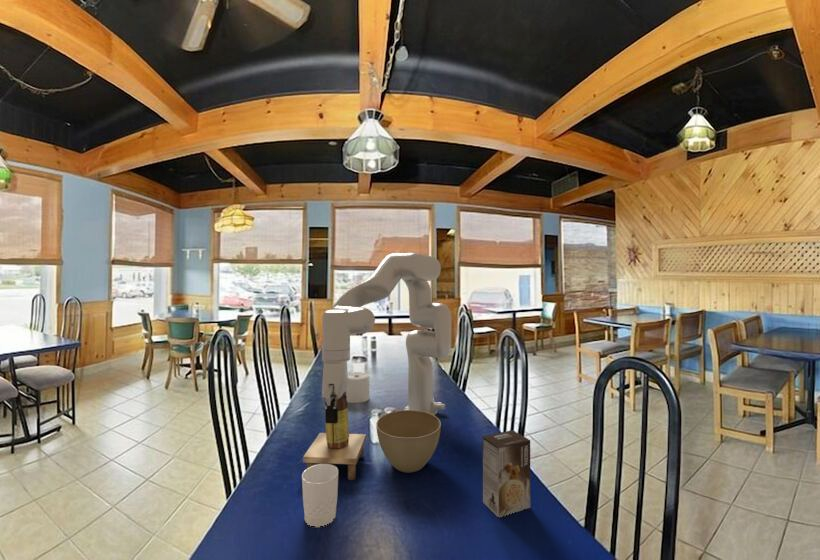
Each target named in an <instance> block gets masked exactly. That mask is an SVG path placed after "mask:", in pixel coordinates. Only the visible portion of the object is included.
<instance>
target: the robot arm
mask: <svg viewBox="0 0 820 560" xmlns="http://www.w3.org/2000/svg"><path fill="white" fill-rule="evenodd" d="M441 269H442V268H441V263H440V261H439V259H437V258H436V257H434V256H431V255H426V254H422V253H417V252H395V253H394V252H393V253H390V254H387V255H386V256H385V257H384V259H383V260H382V261H381V262H380V263H379V264H378V266H377V267H376V269H375V270H373V271H374V272H372V274H371V275H370V276H369V277H368V279H366V280H364V281H362V282H360V283H359V284H357V285H354V287H352V288H350V289H349V290H347V291H346V292H345V293H343V294H342V295H341V296H340V297H339V299H337V301H336V302H335V303H334V304H333V306H332V307H331V309H328V310H325V311H323V312H322V318H321V320H322V322H321V324H322V325H321V329H322V332H321V333H322V334H321V336H322V342H321V343H322V344H321V345H322V346H321V347H322V349H321V350H322V356H321V357H322V362H323V370H322V388H321V391H322V392H321V398H322V399H323V400H326V402H325V401H324V415H325V424H326V423H337V422H338V408H336V407H337V401H338V399H339V398H341V396H342V395H343V393H344V396H345V398H346V400H347V395H346V393H347V391H346V389H347V383H348V372H349V371H348V362H349V361H350V360H351V334H352V335H353V334H355V335H356V334H357V335H359V334H365V333H368V332H370V331H371V330H372V329H373V327H374V325H375V324H376V323H375V321H376V317H375V315H374V312H373V311H372V310H370V309H369V308H366V307H363V306H366V305H368V304H372V303H375V302H379V301H382V300H384V299H386V298H388V297H389V296H390V295H391V293H392V292H393V290H394V289H395V288H396V286H397V285H398V283H399V282H400V281H401V280H402V281H403V282H404V284H405V285H406V286H407V290H408V306H409V308H408V310H409V321H410V323H411V325H412V326H413V327H414V326H415V327H416V328H424V329H425V328H426V329H433V330H434V331H433V330H424V329H414V330H412V331H410V332H409V333H408V334H407V335H406V338H405V347H406V353H407V363H408V364H407V365H408V369H407V370H408V373H407V377H408V378H407V380H408V381H407V382H408V384H407V385H408V389H407V390H408V391H407V393H408V394H407V397H408V400H407V403H408V405H406V406H405V407H404V409H403V410H417V411H423V412H427V413H430V414H432V415H434V416H436V414H437V413H438V410H446V403H442V401H441V402H440V401H438V402H436V401H435V399H434V365H433V362H432V360H431V358H435V359H446V358H448V356H449V355H450V353H451V350H452V314H451V311H450V308H449V306H447V304H444V303H440V302H433V300H432V289H431V285H430V283H429V282H431V281H432V282H433V281H435V280H436V279H438V278H439V277H440V274H441V272H442V270H441ZM332 395H333V396H332ZM331 400H335V401H334V403H333V401H331ZM325 404H326V405H325Z"/></svg>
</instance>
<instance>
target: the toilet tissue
mask: <svg viewBox="0 0 820 560" xmlns="http://www.w3.org/2000/svg"><path fill="white" fill-rule="evenodd" d="M346 391H347V393H346V395H347V404H348V403H349V404H361V403H365V402H368V401H369V400H370V374H369V373H367V372H362V371H360V372H359V371H354V372H350V373H348V383H347V389H346Z"/></svg>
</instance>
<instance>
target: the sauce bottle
mask: <svg viewBox="0 0 820 560" xmlns="http://www.w3.org/2000/svg"><path fill="white" fill-rule="evenodd" d="M332 396H333V395H332ZM324 400H325V399H324ZM331 401H333V403H334V401H335V400H331ZM325 402H326V400H325V401H324V406H325V405H326V404H325ZM348 405H349V404H348V402H347V400H346V398H345V396H344V393H343V395H342V396H341V398H339V399H338V401H337V407H336V408H338V422H337V423H326V422H325V433H326V441H327V445H328V447H330V448H333V449H339V448H343V447H345V446H346V445H347V444H348V443H349V434H350V431H349V430H350V429H349V428H350V427H349V409H348Z"/></svg>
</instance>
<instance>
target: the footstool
mask: <svg viewBox="0 0 820 560" xmlns="http://www.w3.org/2000/svg"><path fill="white" fill-rule="evenodd" d="M366 440H367V434H365V433H364V434H363V433H349V443H348V444H347V445H346V446H345V447H343V448H339V449H333V448H330V447H328V445H327V441H326V432H319V433H318V435H317V436H316V438H315V439H314V441H313V442H312V443H311V444H310V446H309V448H308V449H307V451H305V453H304V455H303V457H302V458H303V459H302V463H306V469H307V468H309V467H311V466H314V465H316V464H331V465H334V464H335V465H336V464H337V465H347V480H349V481H353V480H355V479H356V478H357V477H356V468H357V467H356V465H357V463H358V461H359V459H363V458H364V457H365V456H364V449H365V448H364V446H365V443H366Z"/></svg>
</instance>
